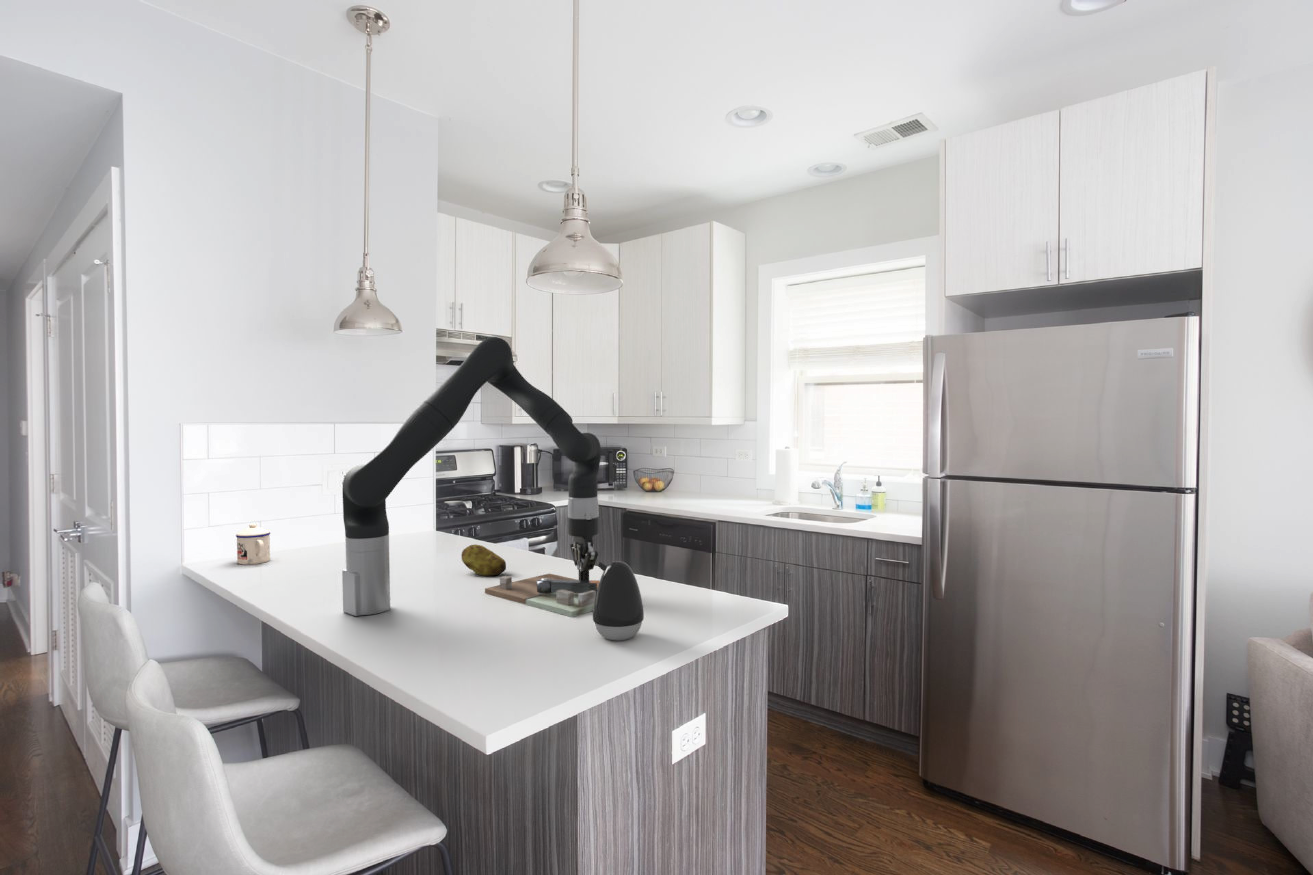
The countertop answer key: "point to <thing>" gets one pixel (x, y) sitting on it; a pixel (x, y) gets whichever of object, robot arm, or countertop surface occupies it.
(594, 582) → the arm
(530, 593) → the board
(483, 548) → the potato
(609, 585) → the pump dispenser
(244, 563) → the teacup with lid
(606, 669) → the countertop surface
